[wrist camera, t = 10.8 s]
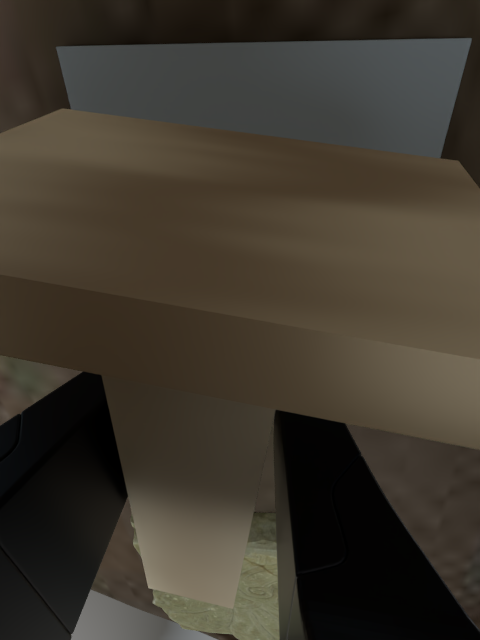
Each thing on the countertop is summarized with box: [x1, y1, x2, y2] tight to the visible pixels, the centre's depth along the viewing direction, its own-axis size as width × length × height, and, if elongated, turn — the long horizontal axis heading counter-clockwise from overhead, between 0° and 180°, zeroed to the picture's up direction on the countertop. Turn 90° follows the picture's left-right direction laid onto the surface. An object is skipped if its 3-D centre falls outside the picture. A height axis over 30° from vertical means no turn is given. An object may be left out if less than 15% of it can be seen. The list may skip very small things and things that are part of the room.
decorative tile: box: [130, 513, 280, 640], centre depth 35 cm, size 19×20×4 cm
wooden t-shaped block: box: [0, 108, 480, 609], centre depth 8 cm, size 7×11×5 cm, turn 175°
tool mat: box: [56, 38, 472, 158], centre depth 17 cm, size 13×15×1 cm
